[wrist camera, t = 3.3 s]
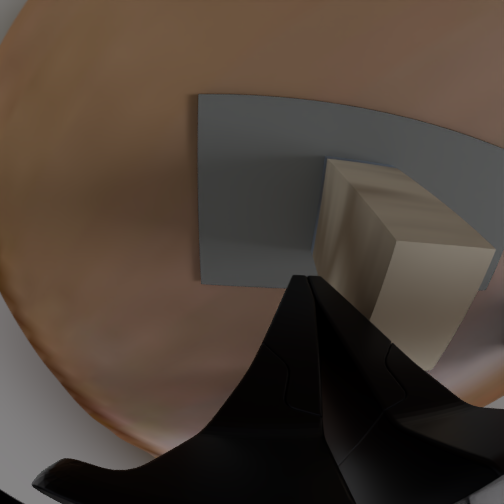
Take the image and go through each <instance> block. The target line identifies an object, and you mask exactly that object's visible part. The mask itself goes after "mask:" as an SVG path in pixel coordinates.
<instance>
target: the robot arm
mask: <svg viewBox="0 0 504 504" xmlns="http://www.w3.org/2000/svg"><path fill="white" fill-rule="evenodd" d="M32 486H33V487H34V488H35V489H37V490H38V491H40V492H41V493H43V494H45V495H47V496H49V497H50V498H52V499H54V500H56V501H58V502H60V503H62V504H504V409H494V408H482V407H477V406H473V405H470V404H468V403H466V402H464V401H462V400H461V399H460V398H458V397H457V396H456V395H454V394H453V393H452V392H451V391H449V390H448V389H447V388H446V387H444V386H443V385H442V384H441V383H439V382H438V381H437V380H436V379H434V378H433V377H432V376H431V375H429V374H428V373H427V372H426V371H424V370H423V369H422V368H421V367H420V366H418V365H417V364H416V363H415V362H414V361H412V360H411V359H410V358H409V357H408V356H407V355H406V354H405V353H404V352H402V351H401V350H400V349H399V348H398V347H397V346H396V345H395V344H394V343H391V340H390V339H389V338H388V337H386V336H385V335H384V334H383V333H382V332H381V331H380V330H379V329H378V328H377V327H376V326H375V325H374V324H373V323H372V322H370V321H369V320H368V319H367V318H366V317H365V316H364V315H363V314H362V313H361V312H360V311H359V310H357V309H356V308H355V307H354V306H353V305H352V304H351V303H350V302H349V301H348V300H347V299H346V298H344V297H343V296H342V295H341V294H340V293H339V292H338V291H337V290H336V289H335V288H333V287H332V286H331V285H330V284H329V283H328V282H327V281H326V280H325V279H324V278H322V277H321V276H313V275H308V276H307V277H306V276H305V275H292V277H291V279H290V282H289V284H288V286H287V289H286V291H285V293H284V295H283V298H282V300H281V302H280V304H279V307H278V309H277V311H276V313H275V316H274V318H273V320H272V322H271V325H270V327H269V329H268V331H267V333H266V336H265V338H264V340H263V342H262V345H261V346H260V348H259V350H258V352H257V354H256V356H255V358H254V360H253V362H252V364H251V366H250V368H249V369H248V371H247V372H246V374H245V375H244V377H243V378H242V380H241V381H240V383H239V384H238V386H237V387H236V388H235V390H234V391H233V392H232V394H231V395H230V396H229V398H228V399H227V400H226V402H225V403H224V404H223V406H222V407H221V408H220V410H219V411H218V412H217V414H216V415H215V416H214V417H213V419H212V420H211V421H210V422H209V423H208V424H207V426H206V427H205V428H204V429H202V430H201V431H200V432H199V433H198V434H197V435H195V436H194V437H192V438H190V439H189V440H187V441H185V442H184V443H182V444H180V445H179V446H177V447H175V448H173V449H172V450H170V451H168V452H166V453H165V454H163V455H161V456H159V457H158V458H156V459H154V460H152V461H150V462H149V463H146V464H145V465H142V466H140V467H137V468H133V469H128V470H111V469H106V468H101V467H98V466H95V465H92V464H89V463H86V462H82V461H79V460H75V459H69V458H64V459H61V460H59V461H57V462H56V463H54V464H52V465H51V466H49V467H48V468H46V469H45V470H43V471H42V472H41V473H40V474H39V475H38V476H37V477H36V479H35V480H34V481H33V482H32ZM0 504H24V503H22V502H21V501H19V500H17V499H16V498H14V497H12V496H10V495H9V494H7V493H5V492H4V491H2V490H1V489H0Z"/></svg>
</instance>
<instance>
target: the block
mask: <svg viewBox="0 0 504 504" xmlns="http://www.w3.org/2000/svg"><path fill="white" fill-rule="evenodd" d="M495 251H496V249H495V248H494V247H493V246H492V245H491V244H490V243H489V242H488V241H487V240H486V239H485V238H483V237H482V236H481V235H480V234H479V233H478V232H477V231H476V230H475V229H474V228H472V227H471V226H470V225H469V224H468V223H467V222H466V221H464V220H463V219H462V218H461V217H460V216H459V215H457V214H456V213H455V212H454V211H453V210H451V209H450V208H449V207H448V206H446V205H445V204H444V203H443V202H442V201H440V200H439V199H438V198H436V197H435V196H434V195H433V194H431V193H430V192H429V191H427V190H426V189H425V188H423V187H422V186H421V185H419V184H418V183H417V182H415V181H414V180H413V179H411V178H410V177H408V176H407V175H406V174H404V173H403V172H401V171H400V170H399V169H397V168H396V167H394V166H392V165H386V164H380V163H374V162H367V161H360V160H353V159H345V158H337V157H329V156H325V160H324V168H323V175H322V183H321V190H320V197H319V203H318V210H317V217H316V223H315V229H314V235H313V241H312V247H311V253H312V256H313V260H314V263H315V266H316V270H317V273H318V276H321V277H322V278H324V279H325V280H326V281H327V282H328V283H329V284H330V285H331V286H332V287H333V288H335V289H336V290H337V291H338V292H339V293H340V294H341V295H342V296H343V297H344V298H346V299H347V300H348V301H349V302H350V303H351V304H352V305H353V306H354V307H355V308H356V309H357V310H359V311H360V312H361V313H362V314H363V315H364V316H365V317H366V318H367V319H368V320H369V321H370V322H372V323H373V324H374V325H375V326H376V327H377V328H378V329H379V330H380V331H381V332H382V333H383V334H384V335H385V336H386V337H388V338H389V339H390V340H391V343H394V344H395V345H396V346H397V347H398V348H399V349H400V350H401V351H402V352H404V353H405V354H406V355H407V356H408V357H409V358H410V359H411V360H412V361H414V362H415V363H416V364H417V365H418V366H420V367H421V368H422V369H423V370H424V371H427V370H432V369H433V368H434V366H435V365H436V363H437V362H438V360H439V359H440V357H441V355H442V354H443V352H444V351H445V349H446V348H447V346H448V344H449V343H450V341H451V339H452V338H453V336H454V334H455V333H456V331H457V329H458V327H459V326H460V324H461V322H462V320H463V318H464V317H465V315H466V313H467V311H468V309H469V307H470V305H471V303H472V301H473V299H474V298H475V295H476V293H477V291H478V289H479V287H480V285H481V283H482V281H483V279H484V277H485V274H486V272H487V270H488V268H489V265H490V263H491V261H492V258H493V256H494V253H495Z"/></svg>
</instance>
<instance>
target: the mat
mask: <svg viewBox="0 0 504 504" xmlns="http://www.w3.org/2000/svg"><path fill="white" fill-rule="evenodd" d="M325 156H329V157H337V158H345V159H353V160H360V161H367V162H374V163H380V164H386V165H392V166H394V167H396V168H397V169H399V170H400V171H401V172H403V173H404V174H406V175H407V176H408V177H410V178H411V179H413V180H414V181H415V182H417V183H418V184H419V185H421V186H422V187H423V188H425V189H426V190H427V191H429V192H430V193H431V194H433V195H434V196H435V197H436V198H438V199H439V200H440V201H442V202H443V203H444V204H445V205H446V206H448V207H449V208H450V209H451V210H453V211H454V212H455V213H456V214H457V215H459V216H460V217H461V218H462V219H463V220H464V221H466V222H467V223H468V224H469V225H470V226H471V227H472V228H474V229H475V230H476V231H477V232H478V233H479V234H480V235H481V236H482V237H483V238H485V239H486V240H487V241H488V242H489V243H490V244H491V245H492V246H493V247H494V248H495V249H496V251H495V253H494V256H493V258H492V261H491V263H490V265H489V268H488V270H487V272H486V274H485V277H484V279H483V281H482V283H481V285H480V287H479V289H478V290H486V288H487V286H488V284H489V282H490V280H491V278H492V275H493V273H494V271H495V269H496V266H497V264H498V262H499V259H500V257H501V255H502V252H503V250H504V149H502V148H500V147H497V146H495V145H492V144H490V143H487V142H484V141H482V140H479V139H476V138H473V137H470V136H467V135H465V134H462V133H459V132H455V131H452V130H449V129H446V128H443V127H439V126H436V125H432V124H429V123H425V122H422V121H418V120H414V119H410V118H406V117H402V116H398V115H393V114H389V113H384V112H380V111H375V110H370V109H365V108H359V107H353V106H348V105H341V104H335V103H328V102H321V101H313V100H305V99H295V98H285V97H272V96H257V95H232V94H199V98H198V214H199V246H200V269H201V284H209V285H226V286H245V287H265V288H287V286H288V284H289V282H290V279H291V277H292V275H305V276H306V277H307V276H308V275H313V276H318V273H317V270H316V266H315V263H314V260H313V256H312V253H311V247H312V241H313V235H314V229H315V223H316V217H317V210H318V203H319V197H320V190H321V183H322V175H323V168H324V160H325Z"/></svg>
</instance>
